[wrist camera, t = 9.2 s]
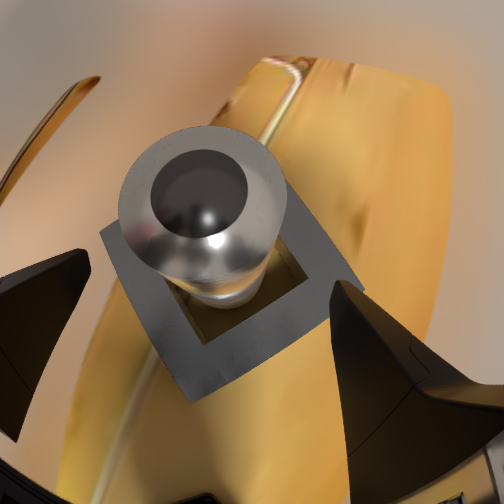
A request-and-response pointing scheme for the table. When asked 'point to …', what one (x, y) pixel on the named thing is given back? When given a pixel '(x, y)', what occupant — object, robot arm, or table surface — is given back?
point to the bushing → (205, 212)
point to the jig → (247, 332)
